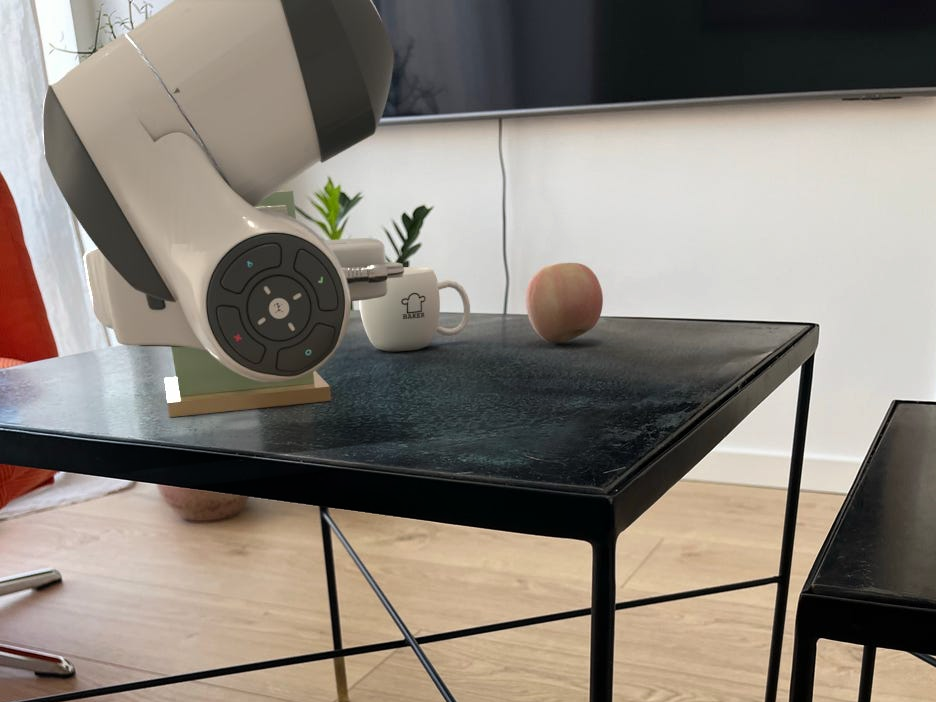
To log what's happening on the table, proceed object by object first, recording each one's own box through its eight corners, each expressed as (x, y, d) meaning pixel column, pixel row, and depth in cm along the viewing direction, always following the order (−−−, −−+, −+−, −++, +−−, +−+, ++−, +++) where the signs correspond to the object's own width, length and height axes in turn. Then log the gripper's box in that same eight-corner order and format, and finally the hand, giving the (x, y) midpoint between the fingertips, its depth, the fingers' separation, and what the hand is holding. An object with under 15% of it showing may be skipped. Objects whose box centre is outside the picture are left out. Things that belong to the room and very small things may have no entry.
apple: (611, 338, 108) (612, 258, 105) (587, 350, 102) (587, 265, 98) (542, 337, 111) (540, 259, 108) (514, 348, 105) (512, 266, 101)
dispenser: (333, 403, 83) (311, 189, 76) (170, 420, 80) (131, 198, 73) (311, 377, 94) (289, 190, 88) (167, 391, 91) (133, 198, 85)
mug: (373, 357, 104) (366, 276, 100) (355, 346, 111) (348, 270, 108) (484, 346, 107) (480, 267, 104) (459, 336, 114) (455, 262, 111)
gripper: (407, 219, 65) (366, 215, 77) (70, 238, 60) (83, 230, 72) (414, 321, 68) (373, 302, 80) (92, 348, 63) (101, 322, 75)
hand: (233, 268), depth 76 cm, fingers closed
